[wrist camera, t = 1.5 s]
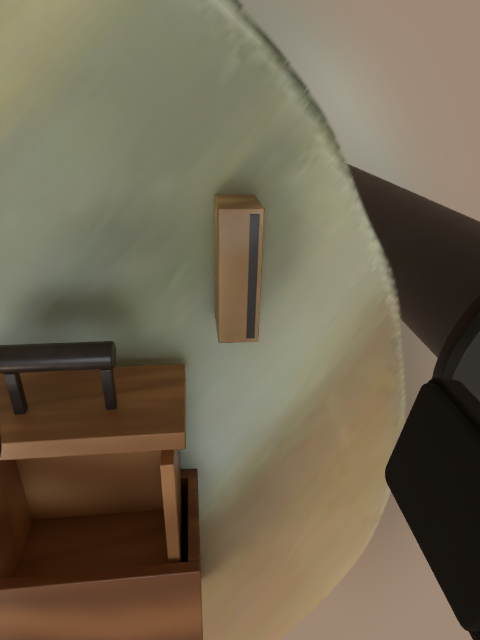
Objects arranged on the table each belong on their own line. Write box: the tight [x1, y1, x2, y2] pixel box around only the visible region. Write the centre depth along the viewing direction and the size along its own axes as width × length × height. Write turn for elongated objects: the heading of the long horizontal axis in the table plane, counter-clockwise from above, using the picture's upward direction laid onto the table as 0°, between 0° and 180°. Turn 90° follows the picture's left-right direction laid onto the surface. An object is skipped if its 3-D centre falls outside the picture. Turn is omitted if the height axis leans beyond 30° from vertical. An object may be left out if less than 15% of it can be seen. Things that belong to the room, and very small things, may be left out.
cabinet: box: [0, 469, 203, 640], centre depth 34 cm, size 15×15×9 cm
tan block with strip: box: [214, 195, 264, 343], centre depth 26 cm, size 2×8×4 cm, turn 179°
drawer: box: [0, 341, 186, 579], centre depth 28 cm, size 18×13×7 cm
